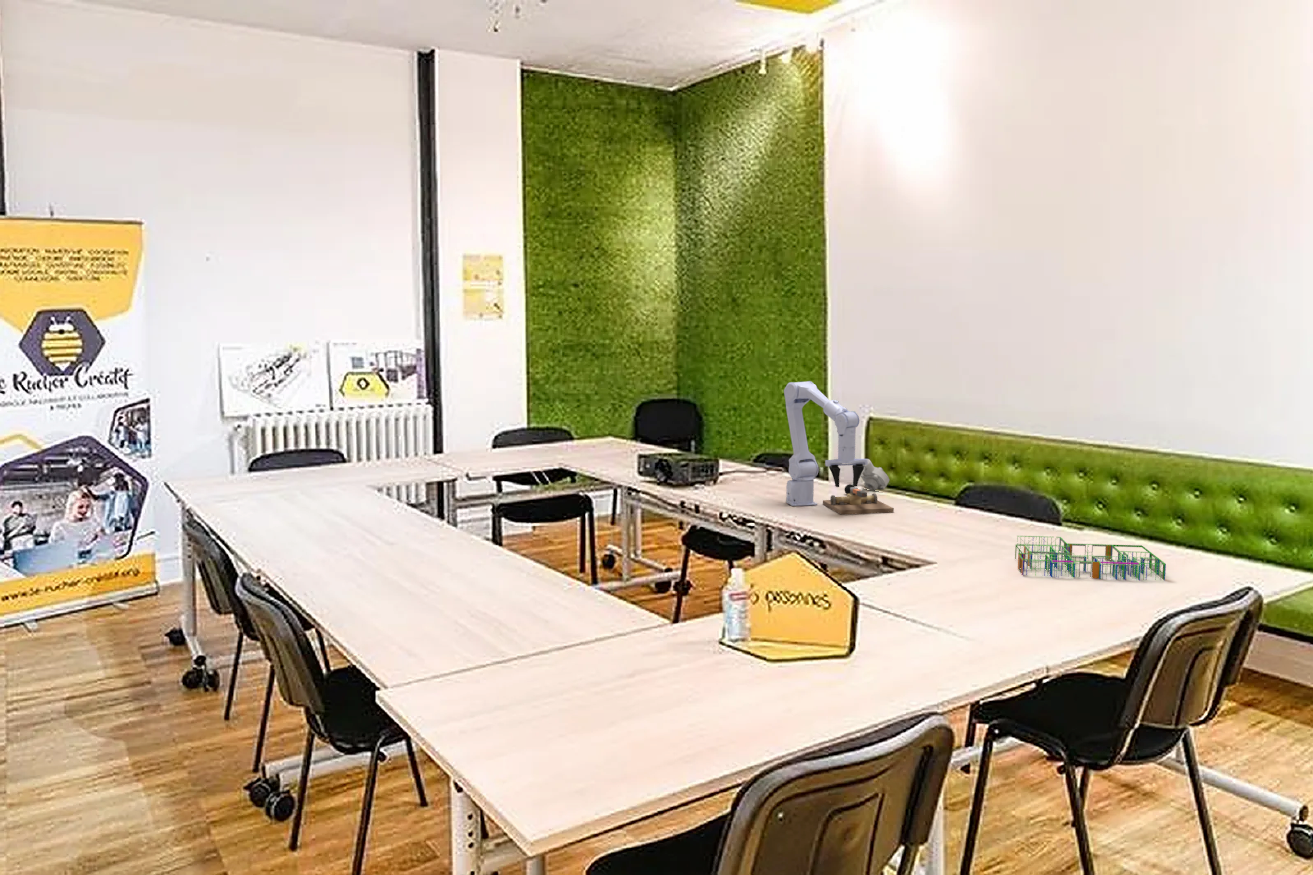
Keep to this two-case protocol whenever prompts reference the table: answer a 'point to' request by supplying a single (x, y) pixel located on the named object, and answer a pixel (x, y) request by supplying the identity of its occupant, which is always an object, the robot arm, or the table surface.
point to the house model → (1095, 564)
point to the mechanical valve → (871, 478)
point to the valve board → (857, 505)
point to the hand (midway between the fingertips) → (846, 486)
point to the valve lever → (858, 492)
